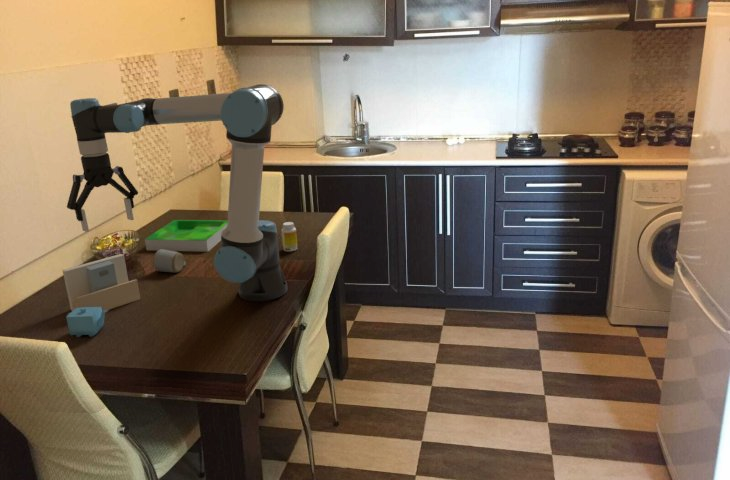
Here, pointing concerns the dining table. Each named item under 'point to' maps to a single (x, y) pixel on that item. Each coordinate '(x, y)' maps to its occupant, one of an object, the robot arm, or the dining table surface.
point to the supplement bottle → (289, 237)
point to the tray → (187, 235)
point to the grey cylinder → (168, 261)
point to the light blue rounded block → (85, 321)
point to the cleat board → (106, 297)
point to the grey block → (101, 276)
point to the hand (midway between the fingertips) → (108, 225)
